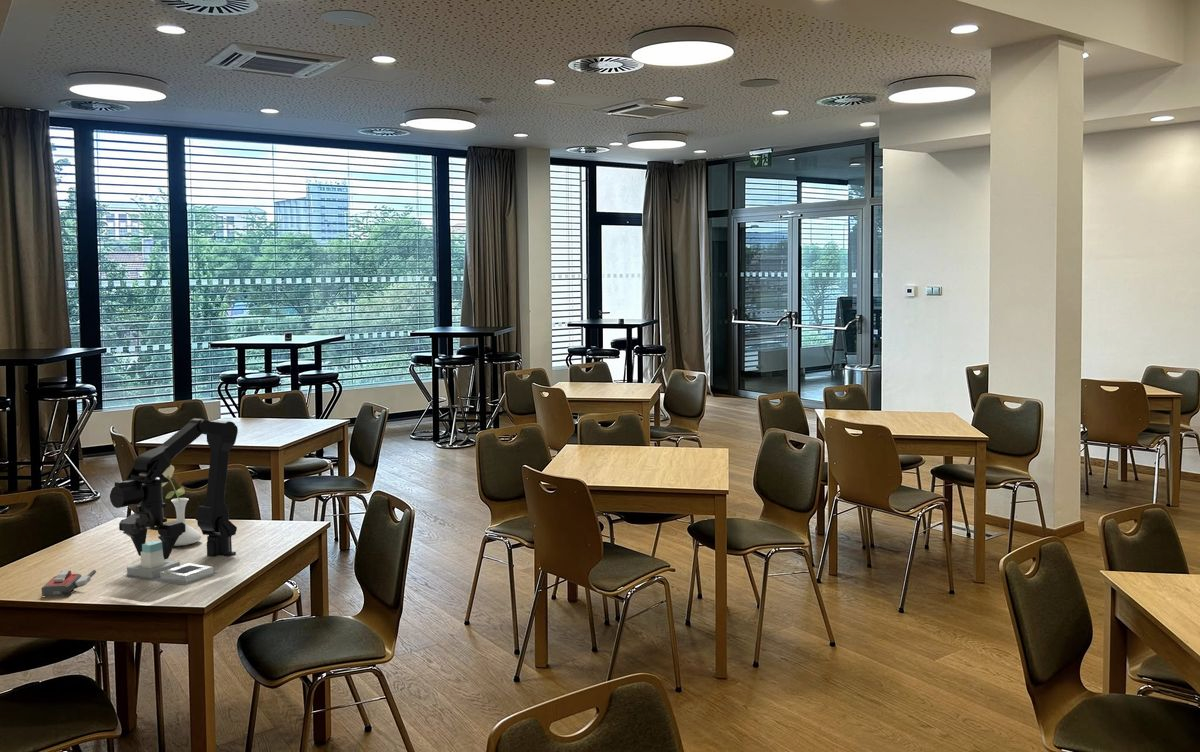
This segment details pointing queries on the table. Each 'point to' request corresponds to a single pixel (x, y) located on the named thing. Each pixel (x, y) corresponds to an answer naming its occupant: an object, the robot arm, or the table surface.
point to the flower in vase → (181, 512)
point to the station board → (163, 580)
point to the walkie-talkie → (65, 583)
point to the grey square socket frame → (153, 572)
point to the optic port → (186, 573)
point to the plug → (152, 555)
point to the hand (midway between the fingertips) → (153, 557)
